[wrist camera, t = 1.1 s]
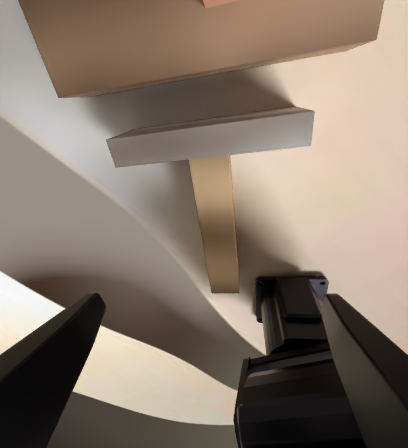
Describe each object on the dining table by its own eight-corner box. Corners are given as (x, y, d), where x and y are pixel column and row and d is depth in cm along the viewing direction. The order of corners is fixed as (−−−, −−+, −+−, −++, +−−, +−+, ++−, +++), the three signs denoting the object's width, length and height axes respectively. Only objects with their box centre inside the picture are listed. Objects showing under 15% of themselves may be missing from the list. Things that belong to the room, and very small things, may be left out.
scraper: (284, 268, 20) (294, 303, 17) (173, 270, 22) (162, 302, 19) (295, 106, 14) (314, 110, 10) (134, 129, 16) (105, 139, 12)
